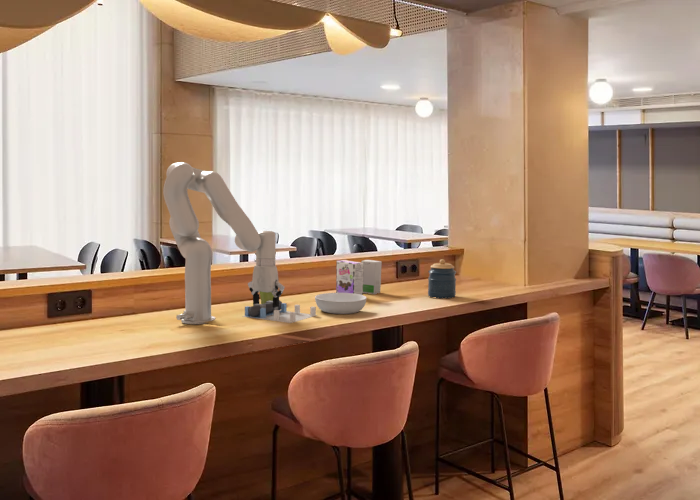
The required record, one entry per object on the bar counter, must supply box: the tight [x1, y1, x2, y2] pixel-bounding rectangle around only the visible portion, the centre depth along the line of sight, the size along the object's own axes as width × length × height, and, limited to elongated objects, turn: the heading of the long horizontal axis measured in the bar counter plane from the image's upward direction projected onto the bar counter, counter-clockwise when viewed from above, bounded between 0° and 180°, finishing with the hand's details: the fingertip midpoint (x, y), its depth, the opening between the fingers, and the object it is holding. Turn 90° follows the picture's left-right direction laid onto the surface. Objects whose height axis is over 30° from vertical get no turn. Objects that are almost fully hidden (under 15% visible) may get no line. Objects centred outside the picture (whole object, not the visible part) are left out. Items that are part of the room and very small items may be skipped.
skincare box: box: [360, 259, 383, 295], centre depth 332 cm, size 8×7×16 cm
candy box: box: [335, 259, 364, 295], centre depth 321 cm, size 14×6×16 cm, turn 37°
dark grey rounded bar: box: [248, 299, 283, 317], centre depth 272 cm, size 17×4×4 cm, turn 149°
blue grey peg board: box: [242, 302, 318, 324], centre depth 269 cm, size 18×23×4 cm
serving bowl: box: [314, 292, 367, 315], centre depth 281 cm, size 21×21×7 cm
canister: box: [427, 258, 457, 299], centre depth 323 cm, size 13×13×18 cm
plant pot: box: [259, 291, 274, 304], centre depth 298 cm, size 9×9×9 cm
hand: (265, 305), depth 272 cm, fingers open, 9 cm apart
